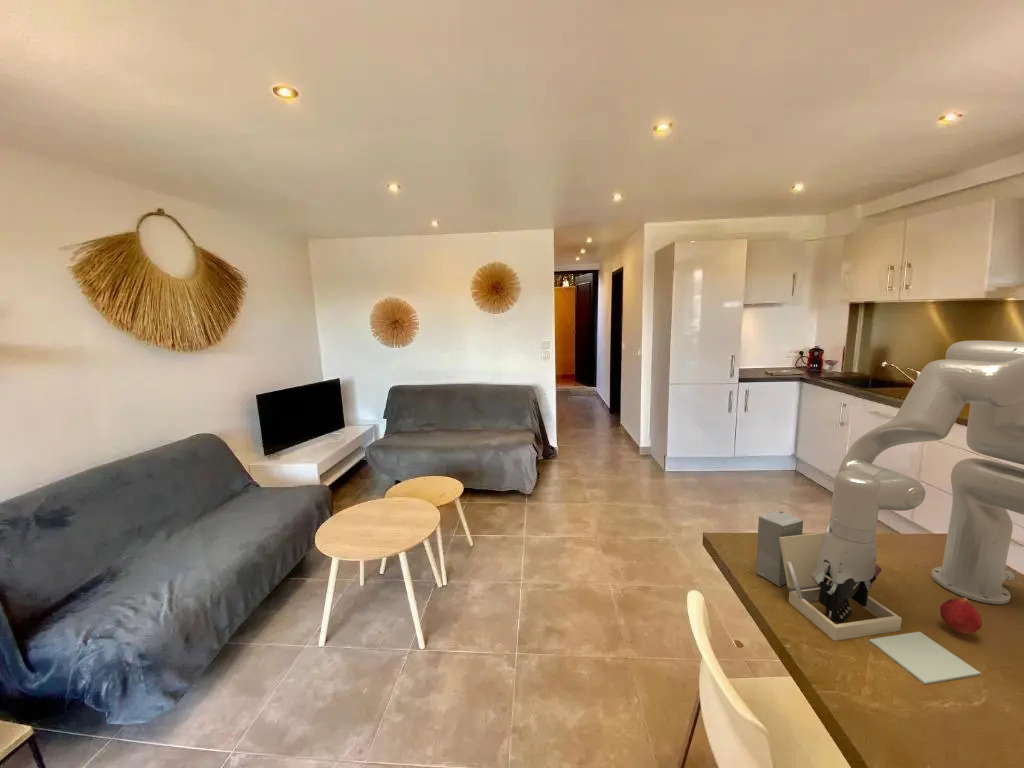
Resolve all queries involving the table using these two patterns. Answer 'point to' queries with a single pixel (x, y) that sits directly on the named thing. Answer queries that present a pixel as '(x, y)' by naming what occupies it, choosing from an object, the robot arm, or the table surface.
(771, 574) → the skincare box
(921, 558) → the table surface
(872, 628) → the case
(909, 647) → the mat
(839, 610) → the battery charger
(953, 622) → the red fruit
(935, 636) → the table surface
